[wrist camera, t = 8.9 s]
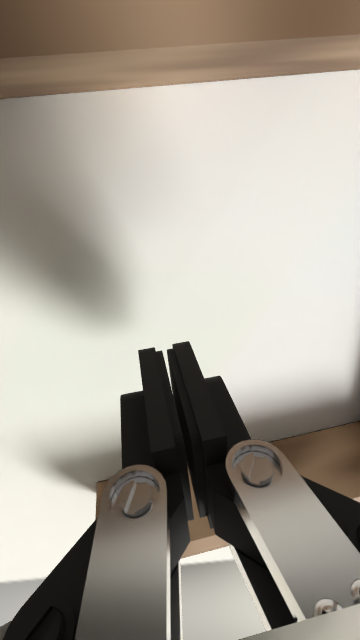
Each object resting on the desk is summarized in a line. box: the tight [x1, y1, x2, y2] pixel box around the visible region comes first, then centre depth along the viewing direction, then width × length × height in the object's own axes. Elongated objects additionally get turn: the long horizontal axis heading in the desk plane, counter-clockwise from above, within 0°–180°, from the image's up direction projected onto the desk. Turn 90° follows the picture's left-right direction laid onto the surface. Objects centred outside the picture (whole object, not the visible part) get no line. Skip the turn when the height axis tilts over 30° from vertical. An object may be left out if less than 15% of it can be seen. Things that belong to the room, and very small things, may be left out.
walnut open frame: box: [0, 0, 360, 559], centre depth 12 cm, size 17×19×4 cm
